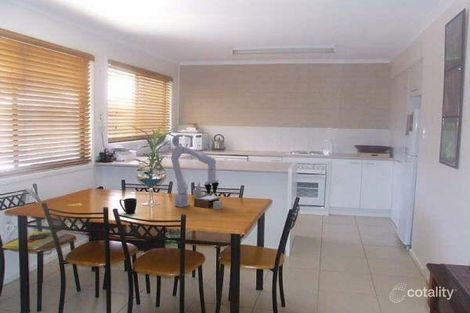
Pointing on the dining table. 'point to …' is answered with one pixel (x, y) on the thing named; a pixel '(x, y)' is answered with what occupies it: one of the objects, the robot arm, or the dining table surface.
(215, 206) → the white block
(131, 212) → the mug
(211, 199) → the trapdoor
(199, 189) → the crystal
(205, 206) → the frame
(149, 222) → the dining table surface
